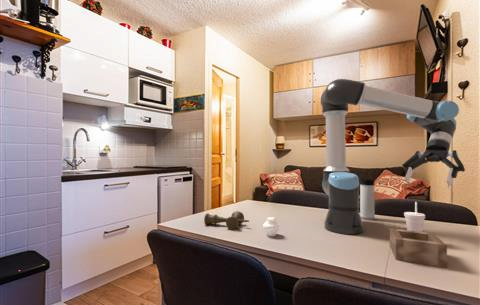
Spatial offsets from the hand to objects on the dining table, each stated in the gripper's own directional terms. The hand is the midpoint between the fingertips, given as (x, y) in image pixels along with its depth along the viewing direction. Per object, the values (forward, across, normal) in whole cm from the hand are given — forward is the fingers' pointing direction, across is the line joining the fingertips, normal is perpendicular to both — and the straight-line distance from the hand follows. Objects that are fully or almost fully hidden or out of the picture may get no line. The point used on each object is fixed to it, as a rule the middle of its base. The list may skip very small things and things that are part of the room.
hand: (426, 182), depth 96 cm
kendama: (+55, +54, +27) cm, 82 cm away
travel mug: (+10, +27, -20) cm, 35 cm away
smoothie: (+23, 0, -7) cm, 24 cm away
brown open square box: (+34, -5, +5) cm, 35 cm away
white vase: (+50, +34, +21) cm, 64 cm away
